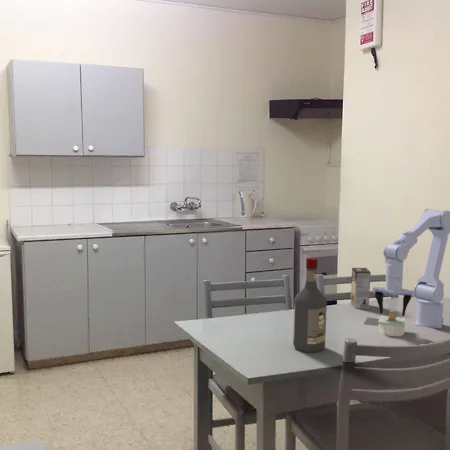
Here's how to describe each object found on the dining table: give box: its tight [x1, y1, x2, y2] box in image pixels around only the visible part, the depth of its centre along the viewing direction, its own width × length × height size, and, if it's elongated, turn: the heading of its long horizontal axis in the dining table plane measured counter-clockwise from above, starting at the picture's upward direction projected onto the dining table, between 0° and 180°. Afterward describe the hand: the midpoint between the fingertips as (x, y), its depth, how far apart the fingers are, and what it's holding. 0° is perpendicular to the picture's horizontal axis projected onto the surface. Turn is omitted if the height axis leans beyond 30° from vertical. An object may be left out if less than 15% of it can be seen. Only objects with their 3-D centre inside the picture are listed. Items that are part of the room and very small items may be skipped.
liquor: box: [292, 257, 328, 353], centre depth 187 cm, size 9×9×30 cm
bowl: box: [377, 324, 406, 337], centre depth 206 cm, size 9×9×4 cm
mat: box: [363, 317, 379, 327], centre depth 219 cm, size 10×10×1 cm
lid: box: [378, 310, 406, 327], centre depth 206 cm, size 9×9×4 cm
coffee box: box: [350, 267, 372, 310], centre depth 242 cm, size 9×6×16 cm
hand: (392, 314), depth 206 cm, fingers open, 7 cm apart
